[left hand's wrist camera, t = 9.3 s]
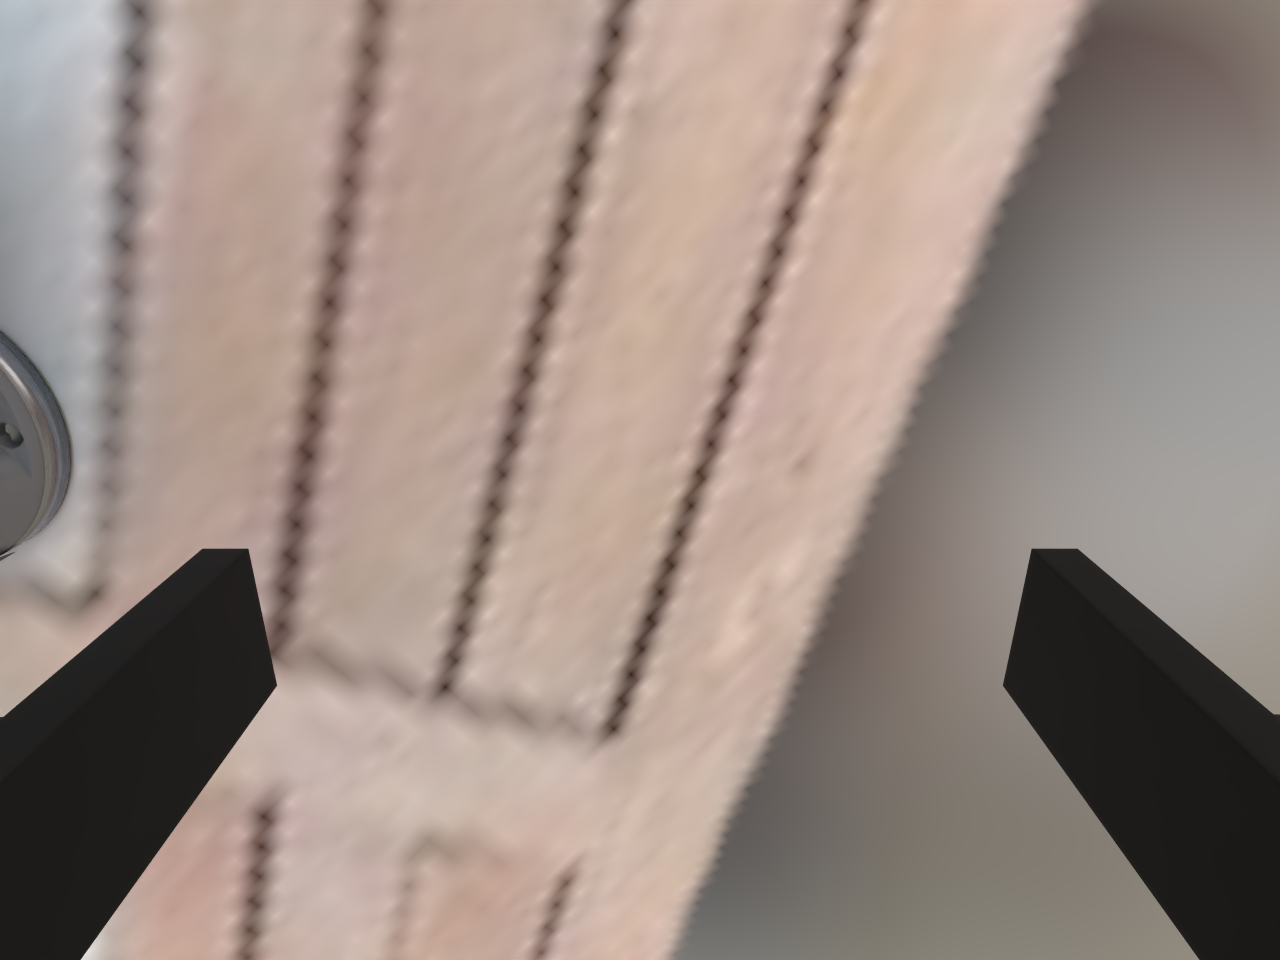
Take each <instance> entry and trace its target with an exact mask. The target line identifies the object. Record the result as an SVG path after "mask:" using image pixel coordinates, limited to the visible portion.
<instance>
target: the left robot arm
mask: <svg viewBox="0 0 1280 960" xmlns="http://www.w3.org/2000/svg"><path fill="white" fill-rule="evenodd" d="M69 474H70V451H69V443H68V438H67V433H66V429H65V426H64V422H63V419H62V417H61V414H60V411H59V409H58V406H57V404H56V402H55V400H54V398H53V396H52V394H51V392H50V391H49V389H48V387H47V386H46V384H45V382H44V381H43V379H42V378H41V376H40V375H39V374H38V372H37V371H36V369H35V368H34V367H33V365H32V364H31V363H30V362H29V361H28V359H27V358H26V357H25V356H24V355H23V354H22V353H21V352H20V350H19V349H18V348H17V347H16V346H15V345H14V344H13V343H12V342H11V341H10V340H8V339H7V338H6V337H5V336H4V335H3V334H2V333H1V332H0V555H2V554H4V553H6V552H7V551H9V550H11V549H13V548H14V547H16V546H18V545H19V544H21V543H23V542H24V541H26V540H28V539H30V538H31V537H33V536H34V535H35V534H37V533H38V532H39V531H40V530H41V529H43V528H44V527H45V526H46V525H47V524H48V523H49V521H50V520H51V519H52V518H53V516H54V515H55V513H56V512H57V510H58V508H59V507H60V505H61V503H62V500H63V498H64V496H65V492H66V489H67V485H68V480H69ZM13 553H14V552H13ZM13 553H11V554H13ZM11 554H8V555H5V556H2V557H0V561H1V560H3V559H4V558H6V557H8V556H9V555H11ZM276 686H277V683H276V678H275V674H274V669H273V664H272V659H271V655H270V650H269V645H268V640H267V636H266V631H265V626H264V621H263V617H262V612H261V607H260V602H259V598H258V593H257V588H256V583H255V578H254V574H253V569H252V564H251V559H250V555H249V550H248V549H202V550H200V551H199V552H198V553H197V554H196V555H195V556H193V557H192V558H191V559H190V560H189V561H187V562H186V563H185V564H184V565H183V566H182V567H180V568H179V569H178V570H177V571H176V572H174V573H173V574H172V575H171V576H170V577H169V578H167V579H166V580H165V581H164V582H163V583H161V584H160V585H159V586H158V587H157V588H156V589H154V590H153V591H152V592H151V593H150V594H148V595H147V596H146V597H145V598H144V599H142V600H141V601H140V602H139V603H138V604H137V605H135V606H134V607H133V608H132V609H131V610H129V611H128V612H127V613H126V614H125V615H124V616H122V617H121V618H120V619H119V620H118V621H116V622H115V623H114V624H113V625H112V626H111V627H109V628H108V629H107V630H106V631H105V632H103V633H102V634H101V635H100V636H99V637H98V638H96V639H95V640H94V641H93V642H92V643H90V644H89V645H88V646H87V647H86V648H84V649H83V650H82V651H81V652H80V653H79V654H77V655H76V656H75V657H74V658H73V659H71V660H70V661H69V662H68V663H67V664H66V665H64V666H63V667H62V668H61V669H60V670H58V671H57V672H56V673H55V674H54V675H53V676H51V677H50V678H49V679H48V680H47V681H45V682H44V683H43V684H42V685H41V686H40V687H38V688H37V689H36V690H35V691H34V692H32V693H31V694H30V695H29V696H28V697H27V698H25V699H24V700H23V701H22V702H21V703H19V704H18V705H17V706H16V707H15V708H13V709H12V710H11V711H10V712H9V713H8V714H6V715H5V716H4V717H0V960H81V958H82V957H83V956H84V954H85V953H86V951H87V950H88V949H89V947H90V946H91V944H92V943H93V942H94V940H95V939H96V937H97V936H98V935H99V933H100V932H101V930H102V929H103V928H104V926H105V925H106V923H107V922H108V921H109V919H110V918H111V916H112V915H113V914H114V912H115V911H116V910H117V908H118V907H119V905H120V904H121V903H122V901H123V900H124V898H125V897H126V896H127V894H128V893H129V891H130V890H131V889H132V887H133V886H134V884H135V883H136V882H137V880H138V879H139V877H140V876H141V875H142V873H143V872H144V870H145V869H146V868H147V866H148V865H149V863H150V862H151V861H152V859H153V858H154V857H155V855H156V854H157V852H158V851H159V850H160V848H161V847H162V845H163V844H164V843H165V841H166V840H167V838H168V837H169V836H170V834H171V833H172V831H173V830H174V829H175V827H176V826H177V824H178V823H179V822H180V820H181V819H182V817H183V816H184V815H185V813H186V812H187V810H188V809H189V808H190V806H191V805H192V803H193V802H194V801H195V799H196V798H197V797H198V795H199V794H200V792H201V791H202V790H203V788H204V787H205V785H206V784H207V783H208V781H209V780H210V778H211V777H212V776H213V774H214V773H215V771H216V770H217V769H218V767H219V766H220V764H221V763H222V762H223V760H224V759H225V757H226V756H227V755H228V753H229V752H230V750H231V749H232V748H233V746H234V745H235V744H236V742H237V741H238V739H239V738H240V737H241V735H242V734H243V732H244V731H245V730H246V728H247V727H248V725H249V724H250V723H251V721H252V720H253V718H254V717H255V716H256V714H257V713H258V711H259V710H260V709H261V707H262V706H263V704H264V703H265V702H266V700H267V699H268V697H269V696H270V695H271V693H272V692H273V690H274V689H275V688H276ZM1003 686H1004V688H1005V689H1006V690H1007V692H1008V693H1009V695H1010V696H1011V697H1012V699H1013V700H1014V702H1015V703H1016V704H1017V706H1018V707H1019V709H1020V710H1021V711H1022V713H1023V714H1024V716H1025V717H1026V718H1027V720H1028V721H1029V723H1030V724H1031V725H1032V727H1033V728H1034V729H1035V731H1036V732H1037V734H1038V735H1039V736H1040V738H1041V739H1042V741H1043V742H1044V743H1045V745H1046V746H1047V748H1048V749H1049V750H1050V752H1051V753H1052V755H1053V756H1054V757H1055V759H1056V760H1057V762H1058V763H1059V764H1060V766H1061V767H1062V769H1063V770H1064V771H1065V773H1066V774H1067V776H1068V777H1069V778H1070V780H1071V781H1072V783H1073V784H1074V785H1075V787H1076V788H1077V790H1078V791H1079V792H1080V794H1081V795H1082V796H1083V798H1084V799H1085V801H1086V802H1087V803H1088V805H1089V806H1090V808H1091V809H1092V810H1093V812H1094V813H1095V815H1096V816H1097V817H1098V819H1099V820H1100V822H1101V823H1102V824H1103V826H1104V827H1105V829H1106V830H1107V831H1108V833H1109V834H1110V836H1111V837H1112V838H1113V840H1114V841H1115V842H1116V844H1117V845H1118V847H1119V848H1120V850H1121V851H1122V852H1123V854H1124V855H1125V856H1126V858H1127V859H1128V861H1129V862H1130V863H1131V865H1132V866H1133V868H1134V869H1135V870H1136V872H1137V873H1138V875H1139V876H1140V877H1141V879H1142V880H1143V882H1144V883H1145V884H1146V886H1147V887H1148V889H1149V890H1150V891H1151V893H1152V894H1153V896H1154V897H1155V898H1156V900H1157V901H1158V903H1159V904H1160V905H1161V907H1162V908H1163V909H1164V911H1165V912H1166V914H1167V915H1168V916H1169V918H1170V919H1171V921H1172V922H1173V923H1174V925H1175V926H1176V928H1177V929H1178V930H1179V932H1180V933H1181V935H1182V936H1183V937H1184V939H1185V940H1186V942H1187V943H1188V944H1189V946H1190V947H1191V949H1192V950H1193V951H1194V953H1195V954H1196V955H1197V957H1198V958H1199V960H1280V715H1274V714H1272V713H1271V712H1270V711H1269V710H1268V709H1267V708H1265V707H1264V706H1263V705H1262V704H1261V703H1259V702H1258V701H1257V700H1256V699H1255V698H1253V697H1252V696H1251V695H1250V694H1249V693H1248V692H1246V691H1245V690H1244V689H1243V688H1242V687H1240V686H1239V685H1238V684H1237V683H1236V682H1235V681H1233V680H1232V679H1231V678H1230V677H1229V676H1227V675H1226V674H1225V673H1224V672H1223V671H1222V670H1220V669H1219V668H1218V667H1217V666H1216V665H1214V664H1213V663H1212V662H1211V661H1210V660H1209V659H1207V658H1206V657H1205V656H1204V655H1202V654H1201V653H1200V652H1199V651H1198V650H1197V649H1195V648H1194V647H1193V646H1192V645H1191V644H1190V643H1188V642H1187V641H1186V640H1185V639H1184V638H1182V637H1181V636H1180V635H1179V634H1178V633H1177V632H1175V631H1174V630H1173V629H1172V628H1171V627H1169V626H1168V625H1167V624H1166V623H1165V622H1163V621H1162V620H1161V619H1160V618H1159V617H1158V616H1156V615H1155V614H1154V613H1153V612H1152V611H1151V610H1149V609H1148V608H1147V607H1146V606H1145V605H1143V604H1142V603H1141V602H1140V601H1139V600H1138V599H1136V598H1135V597H1134V596H1133V595H1132V594H1130V593H1129V592H1128V591H1127V590H1126V589H1124V588H1123V587H1122V586H1121V585H1120V584H1119V583H1117V582H1116V581H1115V580H1114V579H1113V578H1111V577H1110V576H1109V575H1108V574H1107V573H1106V572H1104V571H1103V570H1102V569H1101V568H1100V567H1098V566H1097V565H1096V564H1095V563H1094V562H1093V561H1091V560H1090V559H1089V558H1088V557H1087V556H1085V555H1084V554H1083V553H1082V552H1081V551H1079V550H1078V549H1032V550H1031V555H1030V560H1029V564H1028V569H1027V574H1026V579H1025V583H1024V588H1023V593H1022V598H1021V602H1020V607H1019V612H1018V617H1017V622H1016V626H1015V631H1014V636H1013V640H1012V645H1011V650H1010V655H1009V659H1008V664H1007V669H1006V674H1005V678H1004V683H1003Z"/></svg>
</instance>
